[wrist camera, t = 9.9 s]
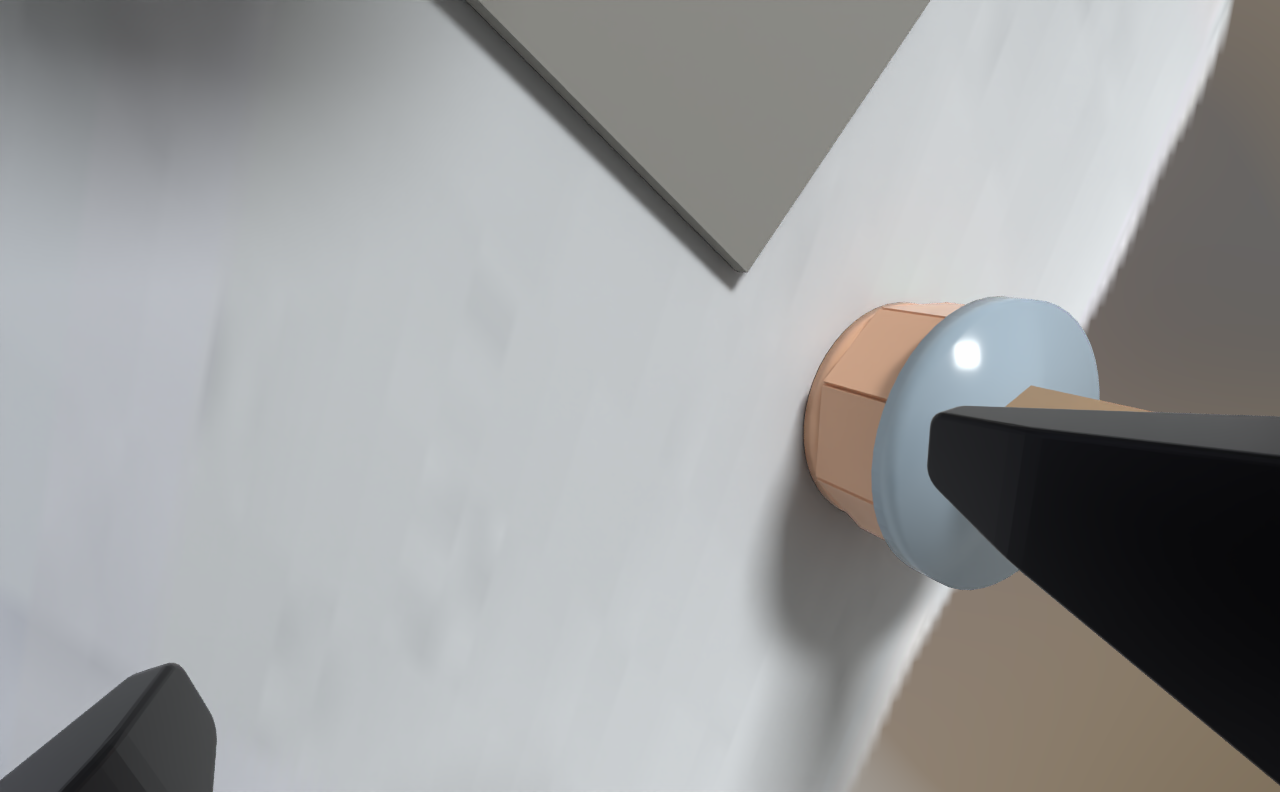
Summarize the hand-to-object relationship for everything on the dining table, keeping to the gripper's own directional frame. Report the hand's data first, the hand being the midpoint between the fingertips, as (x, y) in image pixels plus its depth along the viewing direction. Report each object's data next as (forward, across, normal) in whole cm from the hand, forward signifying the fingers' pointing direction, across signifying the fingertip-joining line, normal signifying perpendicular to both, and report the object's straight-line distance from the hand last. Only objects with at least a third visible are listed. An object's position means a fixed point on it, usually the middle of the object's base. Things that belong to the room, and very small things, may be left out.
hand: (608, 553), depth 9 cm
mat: (+16, +10, +6) cm, 19 cm away
